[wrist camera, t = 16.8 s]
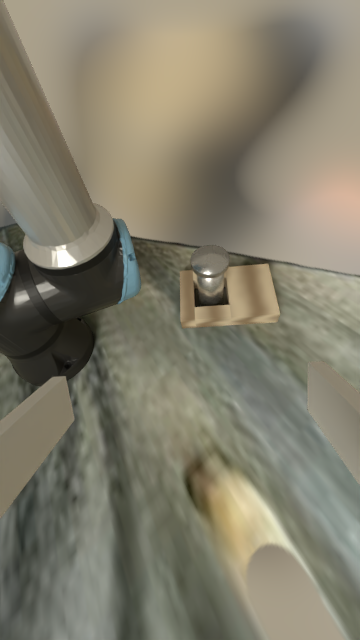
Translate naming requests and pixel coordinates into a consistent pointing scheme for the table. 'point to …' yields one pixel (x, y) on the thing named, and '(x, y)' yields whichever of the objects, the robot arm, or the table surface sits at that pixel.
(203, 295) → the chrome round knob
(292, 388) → the table surface
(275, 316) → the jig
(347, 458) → the robot arm
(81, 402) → the table surface
